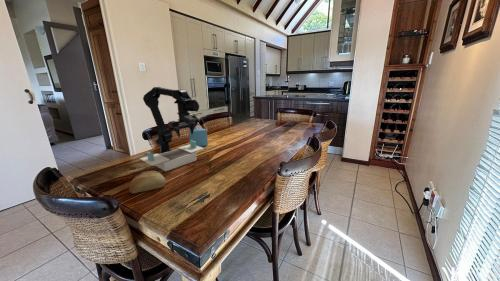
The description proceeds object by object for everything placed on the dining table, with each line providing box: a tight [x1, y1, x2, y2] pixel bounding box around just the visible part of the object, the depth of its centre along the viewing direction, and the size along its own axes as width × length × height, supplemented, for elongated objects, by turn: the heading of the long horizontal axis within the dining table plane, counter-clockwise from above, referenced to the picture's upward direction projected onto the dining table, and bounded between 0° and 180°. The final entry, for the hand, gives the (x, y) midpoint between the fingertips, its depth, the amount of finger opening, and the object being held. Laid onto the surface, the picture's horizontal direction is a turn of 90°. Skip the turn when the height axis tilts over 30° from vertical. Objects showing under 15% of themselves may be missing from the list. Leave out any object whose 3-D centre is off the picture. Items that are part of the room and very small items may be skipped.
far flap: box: [177, 139, 205, 153], centre depth 129 cm, size 14×10×4 cm, turn 49°
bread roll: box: [128, 170, 167, 194], centre depth 92 cm, size 10×15×8 cm, turn 122°
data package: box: [188, 128, 209, 147], centre depth 151 cm, size 12×4×12 cm, turn 109°
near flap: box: [139, 151, 170, 166], centre depth 112 cm, size 14×10×4 cm, turn 49°
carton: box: [154, 148, 198, 172], centre depth 122 cm, size 15×20×5 cm
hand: (185, 135), depth 131 cm, fingers open, 9 cm apart
